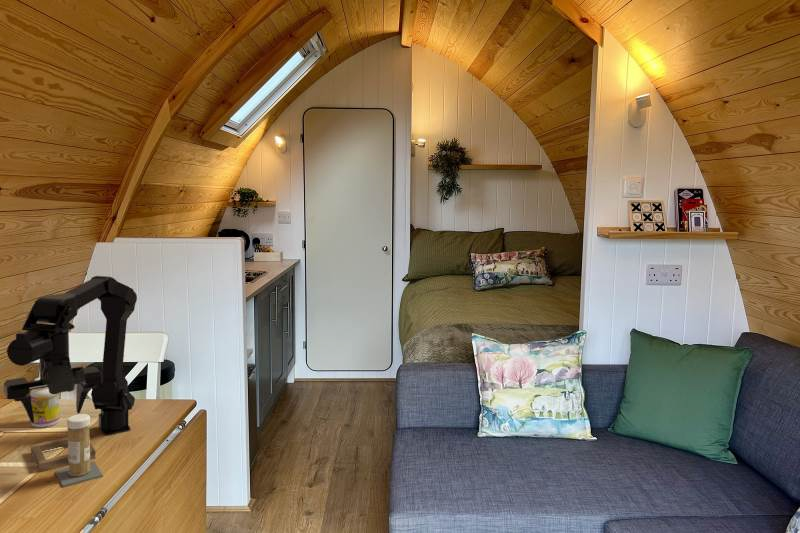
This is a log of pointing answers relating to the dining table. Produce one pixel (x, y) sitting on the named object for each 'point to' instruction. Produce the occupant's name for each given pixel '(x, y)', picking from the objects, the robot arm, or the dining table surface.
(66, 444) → the walnut collar stand
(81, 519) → the dining table surface
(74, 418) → the sprinkles bottle
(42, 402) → the supplement bottle
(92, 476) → the grey flat square slab
